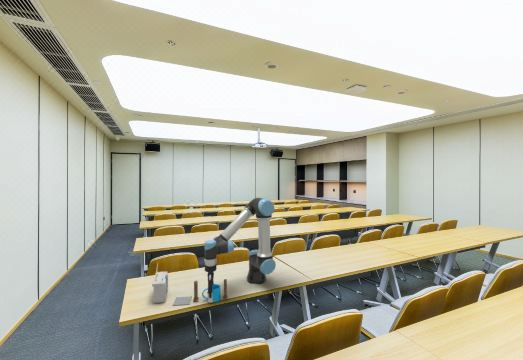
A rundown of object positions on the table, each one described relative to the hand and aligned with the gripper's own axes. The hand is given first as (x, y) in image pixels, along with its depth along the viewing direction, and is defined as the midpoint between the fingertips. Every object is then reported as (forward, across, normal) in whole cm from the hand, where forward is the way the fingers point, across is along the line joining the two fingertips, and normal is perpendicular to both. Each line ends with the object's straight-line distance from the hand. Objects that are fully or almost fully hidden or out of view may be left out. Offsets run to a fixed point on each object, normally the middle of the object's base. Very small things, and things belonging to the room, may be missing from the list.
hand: (211, 298), depth 163 cm
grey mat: (0, 0, -18) cm, 18 cm away
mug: (+1, 0, 0) cm, 1 cm away
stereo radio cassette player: (+1, -9, -34) cm, 35 cm away
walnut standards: (+1, 0, 0) cm, 1 cm away
